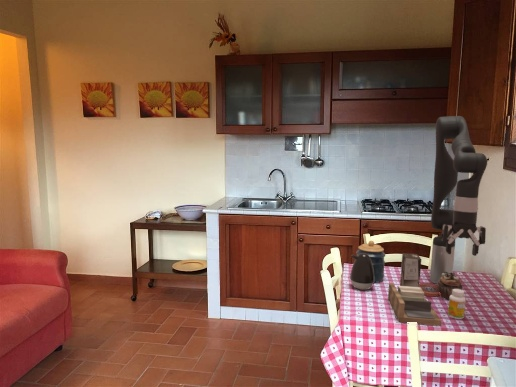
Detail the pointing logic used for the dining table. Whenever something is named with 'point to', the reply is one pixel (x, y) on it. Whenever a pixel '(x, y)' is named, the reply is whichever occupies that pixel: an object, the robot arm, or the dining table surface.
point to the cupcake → (448, 284)
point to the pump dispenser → (362, 272)
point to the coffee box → (410, 270)
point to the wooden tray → (412, 305)
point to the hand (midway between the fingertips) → (461, 254)
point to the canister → (374, 258)
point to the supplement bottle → (457, 304)
